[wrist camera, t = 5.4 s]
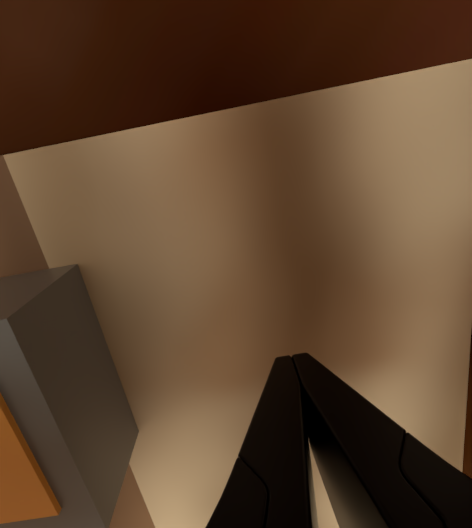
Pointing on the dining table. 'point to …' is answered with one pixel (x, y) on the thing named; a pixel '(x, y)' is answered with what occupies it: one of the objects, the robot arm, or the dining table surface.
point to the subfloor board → (264, 267)
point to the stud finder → (58, 406)
